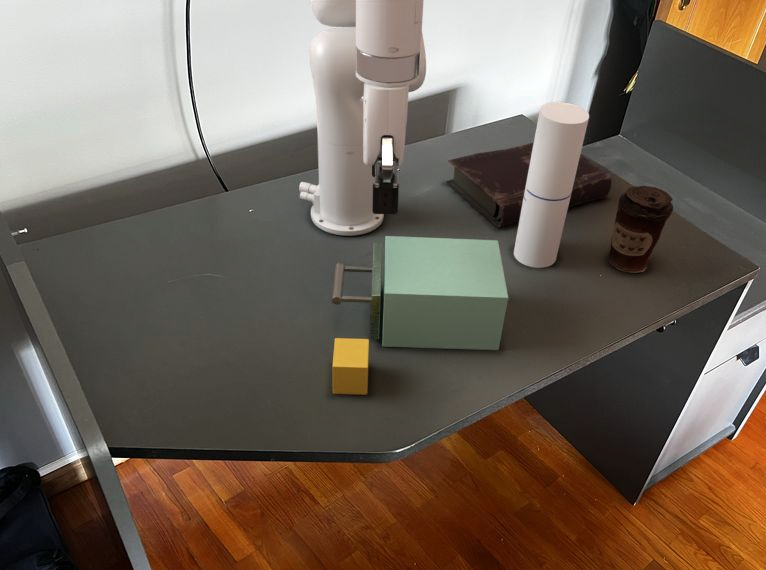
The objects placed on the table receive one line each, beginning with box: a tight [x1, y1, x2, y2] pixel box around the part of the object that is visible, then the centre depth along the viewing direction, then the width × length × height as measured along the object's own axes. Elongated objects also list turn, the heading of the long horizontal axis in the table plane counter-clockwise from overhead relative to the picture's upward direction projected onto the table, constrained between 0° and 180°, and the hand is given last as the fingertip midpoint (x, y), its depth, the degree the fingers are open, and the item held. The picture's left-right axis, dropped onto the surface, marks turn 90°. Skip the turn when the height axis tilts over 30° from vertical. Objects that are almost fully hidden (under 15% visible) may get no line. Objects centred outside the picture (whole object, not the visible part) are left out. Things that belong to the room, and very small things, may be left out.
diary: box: [445, 142, 613, 229], centre depth 137 cm, size 19×25×5 cm
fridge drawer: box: [331, 242, 383, 340], centre depth 106 cm, size 21×12×8 cm, turn 91°
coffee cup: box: [608, 185, 674, 274], centre depth 119 cm, size 9×8×13 cm
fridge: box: [381, 235, 509, 351], centre depth 107 cm, size 17×14×10 cm
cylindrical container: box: [513, 101, 590, 269], centre depth 115 cm, size 7×7×25 cm
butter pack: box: [331, 337, 370, 396], centre depth 97 cm, size 4×6×5 cm
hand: (384, 194), depth 98 cm, fingers open, 9 cm apart
